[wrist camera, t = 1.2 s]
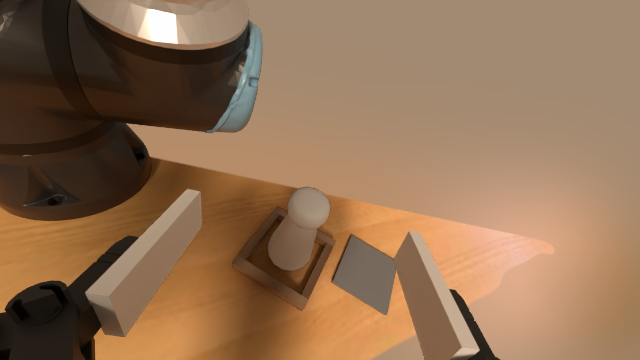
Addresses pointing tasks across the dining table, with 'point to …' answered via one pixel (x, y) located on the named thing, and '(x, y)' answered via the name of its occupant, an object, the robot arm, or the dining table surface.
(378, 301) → the charcoal coaster
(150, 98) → the robot arm
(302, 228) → the salt shaker
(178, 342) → the dining table surface
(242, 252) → the walnut collar
